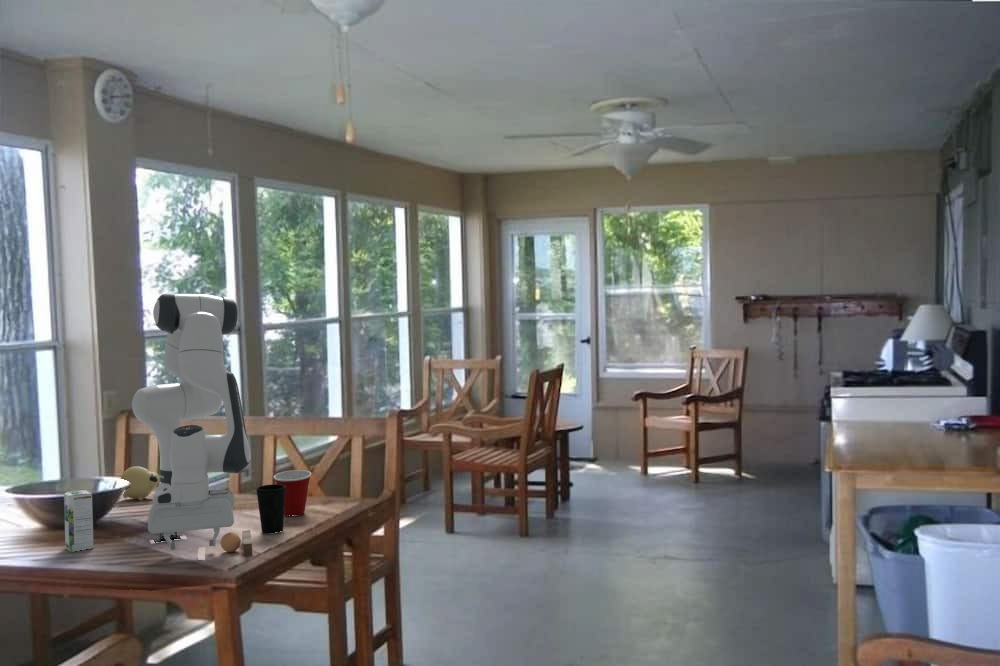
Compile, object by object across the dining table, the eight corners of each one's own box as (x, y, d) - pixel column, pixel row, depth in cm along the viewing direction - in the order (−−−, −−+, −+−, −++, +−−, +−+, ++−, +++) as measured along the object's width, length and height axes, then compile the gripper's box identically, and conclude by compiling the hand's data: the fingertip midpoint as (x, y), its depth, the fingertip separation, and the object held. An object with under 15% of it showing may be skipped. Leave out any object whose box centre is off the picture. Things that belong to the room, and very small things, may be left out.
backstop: (242, 542, 242) (242, 530, 241) (250, 541, 242) (250, 530, 242) (243, 556, 228) (243, 544, 228) (252, 555, 229) (251, 543, 229)
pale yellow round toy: (158, 501, 295) (156, 467, 295) (117, 504, 293) (116, 470, 292) (162, 494, 305) (160, 462, 304) (123, 497, 302) (121, 464, 302)
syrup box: (64, 548, 240) (62, 492, 240) (89, 544, 244) (86, 489, 243) (70, 553, 236) (67, 495, 235) (95, 548, 239) (92, 492, 239)
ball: (236, 551, 236) (217, 547, 234) (242, 532, 236) (223, 528, 234) (237, 555, 231) (218, 551, 230) (243, 537, 231) (224, 532, 230)
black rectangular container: (144, 548, 241) (143, 530, 241) (141, 542, 248) (140, 524, 247) (194, 541, 247) (193, 523, 246) (190, 535, 253) (189, 517, 253)
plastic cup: (269, 519, 267) (267, 477, 267) (282, 510, 278) (280, 470, 277) (306, 519, 266) (304, 477, 265) (317, 510, 276) (316, 469, 276)
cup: (279, 535, 248) (277, 490, 247) (252, 534, 250) (251, 489, 249) (291, 528, 255) (290, 484, 255) (265, 527, 257) (264, 484, 257)
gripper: (233, 486, 237) (236, 540, 237) (147, 493, 231) (150, 548, 232) (234, 491, 231) (236, 546, 231) (145, 498, 225) (148, 555, 225)
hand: (192, 547), depth 231 cm, fingers open, 8 cm apart
